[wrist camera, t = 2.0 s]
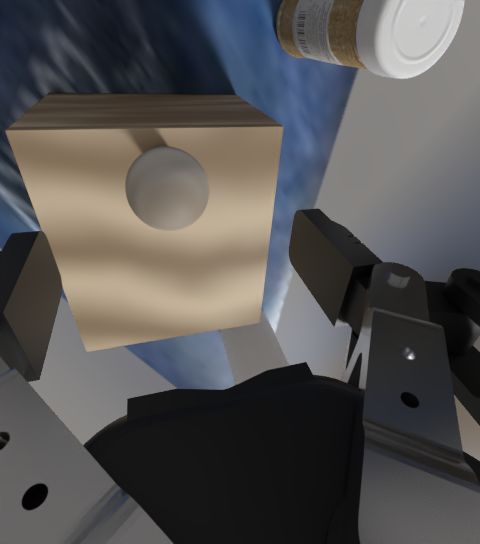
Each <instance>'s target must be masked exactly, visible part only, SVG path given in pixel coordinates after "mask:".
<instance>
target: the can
mask: <svg viewBox="0 0 480 544" xmlns="http://www.w3.org/2000/svg"><path fill="white" fill-rule="evenodd" d="M220 332H221V336H222V339H223V343H224V346H225V350H226V353H227V356H228V360H229V363H230V367H231V370H232V373H233V377H234V380H235V383H236V385H237V384H239V383H241V382H243V381H245V380H248V379H250V378H252V377H254V376H256V375H258V374H260V373H262V372H264V371H266V370H270V369H275V368H280V367H285V366H289V363H288V361H287V359H286V357H285V355H284V353H283V351H282V348H281V347H280V344H279V342H278V340H277V338H276V336H275V333H274V331H273V329H272V327H271V325H270V323H269V321H268V319H267V317H266V315H265V313H264V311H263V310H262V309H261V316H260V323H256V324H250V325H244V326H238V327H232V328H226V329H220Z"/></svg>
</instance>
